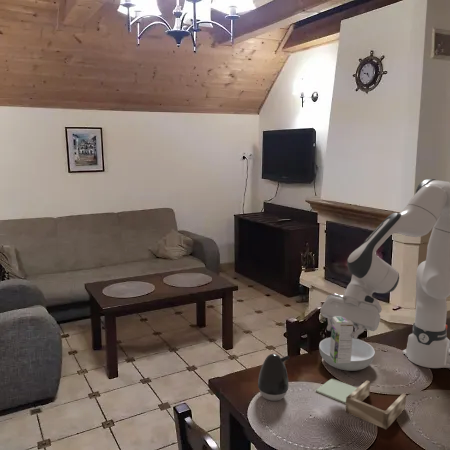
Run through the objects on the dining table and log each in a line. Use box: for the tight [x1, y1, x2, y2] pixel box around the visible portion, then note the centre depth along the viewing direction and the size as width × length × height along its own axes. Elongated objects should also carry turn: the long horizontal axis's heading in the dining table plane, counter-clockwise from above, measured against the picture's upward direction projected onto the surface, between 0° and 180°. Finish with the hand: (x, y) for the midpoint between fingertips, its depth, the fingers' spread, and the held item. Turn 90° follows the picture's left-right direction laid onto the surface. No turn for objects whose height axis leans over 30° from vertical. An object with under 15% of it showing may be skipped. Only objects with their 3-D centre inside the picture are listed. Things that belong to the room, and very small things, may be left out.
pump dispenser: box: [257, 353, 290, 402], centre depth 154 cm, size 10×10×15 cm
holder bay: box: [345, 380, 407, 430], centre depth 147 cm, size 15×13×5 cm
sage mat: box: [315, 377, 358, 405], centre depth 159 cm, size 11×11×1 cm
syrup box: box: [330, 316, 354, 363], centre depth 155 cm, size 6×6×14 cm
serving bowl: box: [318, 336, 376, 372], centre depth 178 cm, size 21×21×7 cm
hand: (341, 334), depth 154 cm, fingers closed on syrup box, 8 cm apart
